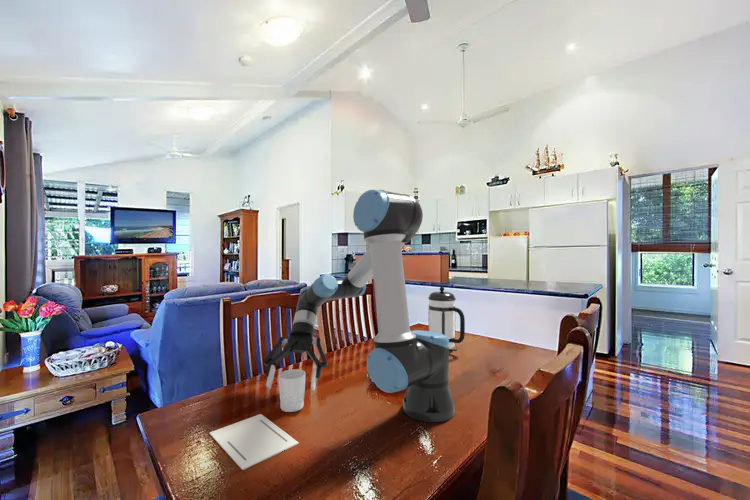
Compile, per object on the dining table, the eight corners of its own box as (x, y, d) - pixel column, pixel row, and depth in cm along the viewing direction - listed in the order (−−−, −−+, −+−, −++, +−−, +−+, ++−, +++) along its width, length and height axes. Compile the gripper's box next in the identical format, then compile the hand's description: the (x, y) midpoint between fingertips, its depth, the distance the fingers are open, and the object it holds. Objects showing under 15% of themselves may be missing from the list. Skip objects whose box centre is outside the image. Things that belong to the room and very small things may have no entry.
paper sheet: (298, 443, 82) (298, 442, 82) (242, 470, 72) (242, 468, 72) (260, 414, 96) (260, 413, 96) (209, 433, 86) (209, 432, 86)
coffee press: (425, 354, 153) (425, 288, 153) (426, 344, 169) (426, 284, 168) (464, 356, 150) (465, 289, 150) (461, 346, 166) (461, 285, 166)
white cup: (296, 398, 107) (296, 367, 107) (310, 407, 101) (310, 374, 101) (273, 406, 101) (273, 373, 101) (287, 416, 96) (287, 381, 96)
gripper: (340, 332, 118) (333, 393, 103) (270, 331, 119) (253, 392, 104) (338, 321, 113) (330, 383, 98) (265, 320, 114) (246, 381, 99)
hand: (290, 388), depth 101 cm, fingers open, 13 cm apart
